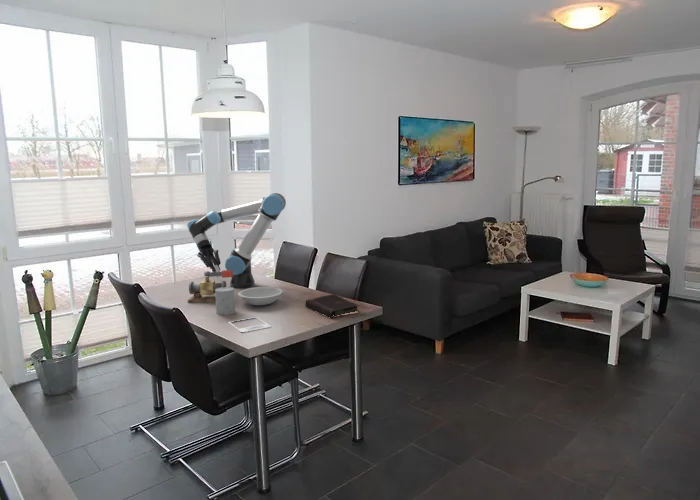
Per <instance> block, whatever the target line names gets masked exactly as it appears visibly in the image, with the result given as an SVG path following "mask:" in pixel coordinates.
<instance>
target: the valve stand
mask: <svg viewBox="0 0 700 500" xmlns="http://www.w3.org/2000/svg"><path fill="white" fill-rule="evenodd" d="M204 277H205V280H201V281H200V282H197V283H196V282H194V281H190V282H189V284H188V293H189V295H191V296H190V297H189V298H188V299H187V303H188V304H189V303H216V296H215V289H216V288H220V287H227V283H226V281H225V280H223V281H222V282H216V280H215V279H214V280H212V279H211V280H210V277H208V276H204Z"/></svg>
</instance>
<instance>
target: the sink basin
mask: <svg viewBox="0 0 700 500" xmlns="http://www.w3.org/2000/svg"><path fill="white" fill-rule="evenodd" d="M283 293H284V291H283V290H282V289H281V288H279V287H272V286H257V287H256V286H255V287H248V288H244V289H242V290H240V291H239V292H238V293H237V296H239V297H241V298H242V300H243V301H244V302H245V303H247V304H249V305H252V306H265V305H270V304H272V303H274V302H275V301H277V300H278V299H279V297H280V296H282V294H283Z"/></svg>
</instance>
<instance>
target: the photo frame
mask: <svg viewBox="0 0 700 500" xmlns="http://www.w3.org/2000/svg"><path fill="white" fill-rule="evenodd" d="M252 318H253V319H256V320H258V321H259V320H260V321H259V322H261V323H262V322H263V323H262V324H257V325H252V326H247V327H242V328H239V327H237V325H235V324H233V323H235V322H234V321H235V320H233V321H227V322H228V325H230V324H231V325H230V326H231V327H233V326H234V327H235V328H234V327H233V328H234V329H236V330H237V329H238V330H239V331H238V330H237V331H238V332H240V333H241V332H246V333H249V332H248V331H251V332H253V331H252V330H256V331H258V330H257V329H261V330H264V329H263V328H266V329H270V328H269V327H271V328H272V326H271V324H268V323H267V322H265V321H264V320H262V318H260V317H258V316H254V317H249V318H244V319H238V320H236V321H237V322H241V321H240V320H242V321H246V319H248V320H251V319H252ZM264 323H265V324H264Z"/></svg>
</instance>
